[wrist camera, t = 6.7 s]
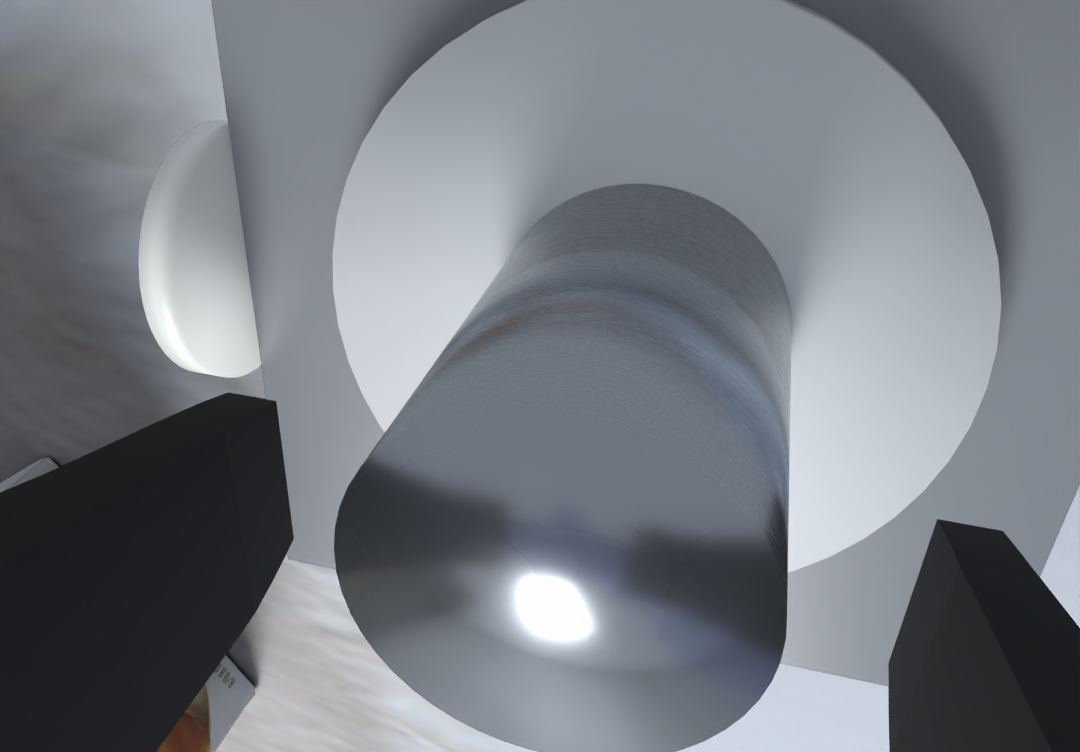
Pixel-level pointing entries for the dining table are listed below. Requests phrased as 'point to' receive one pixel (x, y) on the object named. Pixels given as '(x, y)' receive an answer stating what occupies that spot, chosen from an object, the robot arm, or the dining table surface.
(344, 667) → the dining table surface
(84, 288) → the dining table surface
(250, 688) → the coffee box
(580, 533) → the cylinder
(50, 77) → the dining table surface
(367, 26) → the kitchen scale
